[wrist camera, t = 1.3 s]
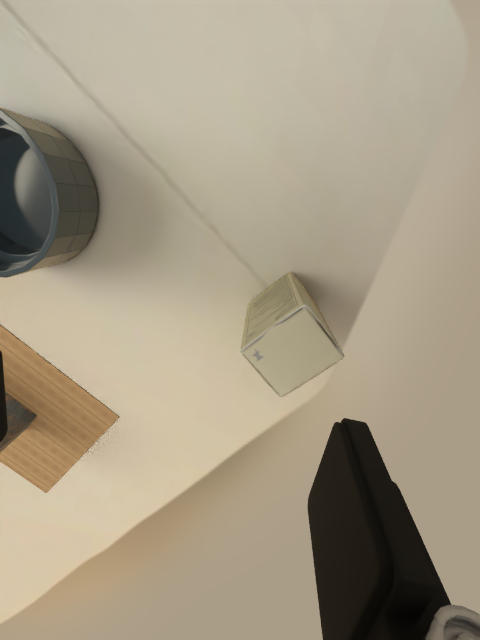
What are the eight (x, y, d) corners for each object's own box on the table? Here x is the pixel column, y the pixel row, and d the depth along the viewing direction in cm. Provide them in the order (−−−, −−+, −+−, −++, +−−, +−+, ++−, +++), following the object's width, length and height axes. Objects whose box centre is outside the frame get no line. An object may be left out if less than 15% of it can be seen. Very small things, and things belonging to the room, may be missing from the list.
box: (274, 336, 31) (276, 402, 21) (246, 302, 30) (234, 353, 20) (320, 305, 30) (348, 358, 19) (293, 268, 29) (306, 303, 18)
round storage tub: (64, 97, 26) (7, 67, 20) (120, 245, 30) (85, 254, 24) (-57, 144, 28) (-139, 129, 22) (10, 277, 32) (-47, 293, 26)
